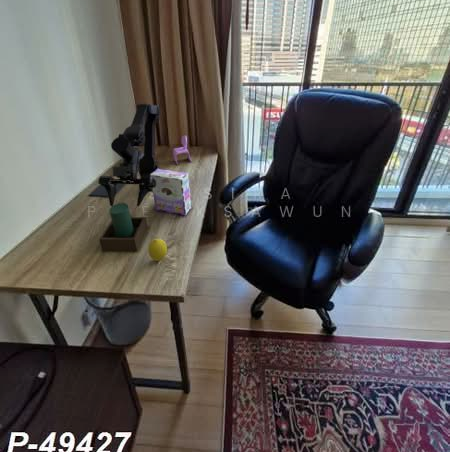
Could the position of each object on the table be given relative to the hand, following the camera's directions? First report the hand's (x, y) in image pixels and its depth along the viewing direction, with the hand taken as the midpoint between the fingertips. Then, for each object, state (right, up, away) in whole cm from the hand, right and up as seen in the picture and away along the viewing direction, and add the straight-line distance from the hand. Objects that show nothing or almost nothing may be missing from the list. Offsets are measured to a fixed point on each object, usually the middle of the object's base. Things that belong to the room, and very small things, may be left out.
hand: (124, 206), depth 86 cm
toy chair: (+10, +18, +58) cm, 62 cm away
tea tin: (0, -11, +1) cm, 11 cm away
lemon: (+14, -16, -7) cm, 22 cm away
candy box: (+13, -4, +17) cm, 22 cm away
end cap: (-15, +15, +54) cm, 58 cm away
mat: (-20, +3, +31) cm, 37 cm away
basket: (0, -12, +1) cm, 12 cm away
